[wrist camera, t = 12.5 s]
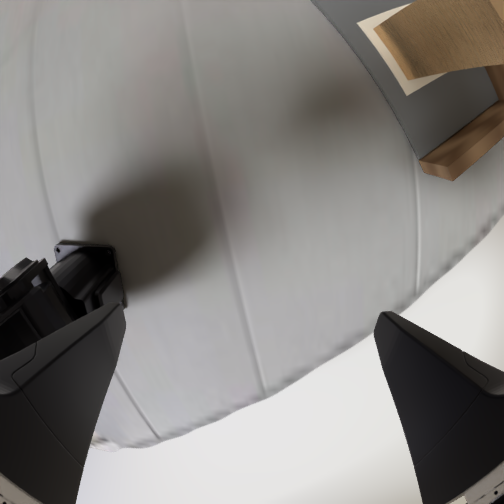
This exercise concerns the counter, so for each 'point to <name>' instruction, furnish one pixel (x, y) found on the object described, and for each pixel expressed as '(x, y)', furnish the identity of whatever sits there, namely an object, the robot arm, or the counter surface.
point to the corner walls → (470, 136)
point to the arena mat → (413, 91)
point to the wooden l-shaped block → (445, 36)
